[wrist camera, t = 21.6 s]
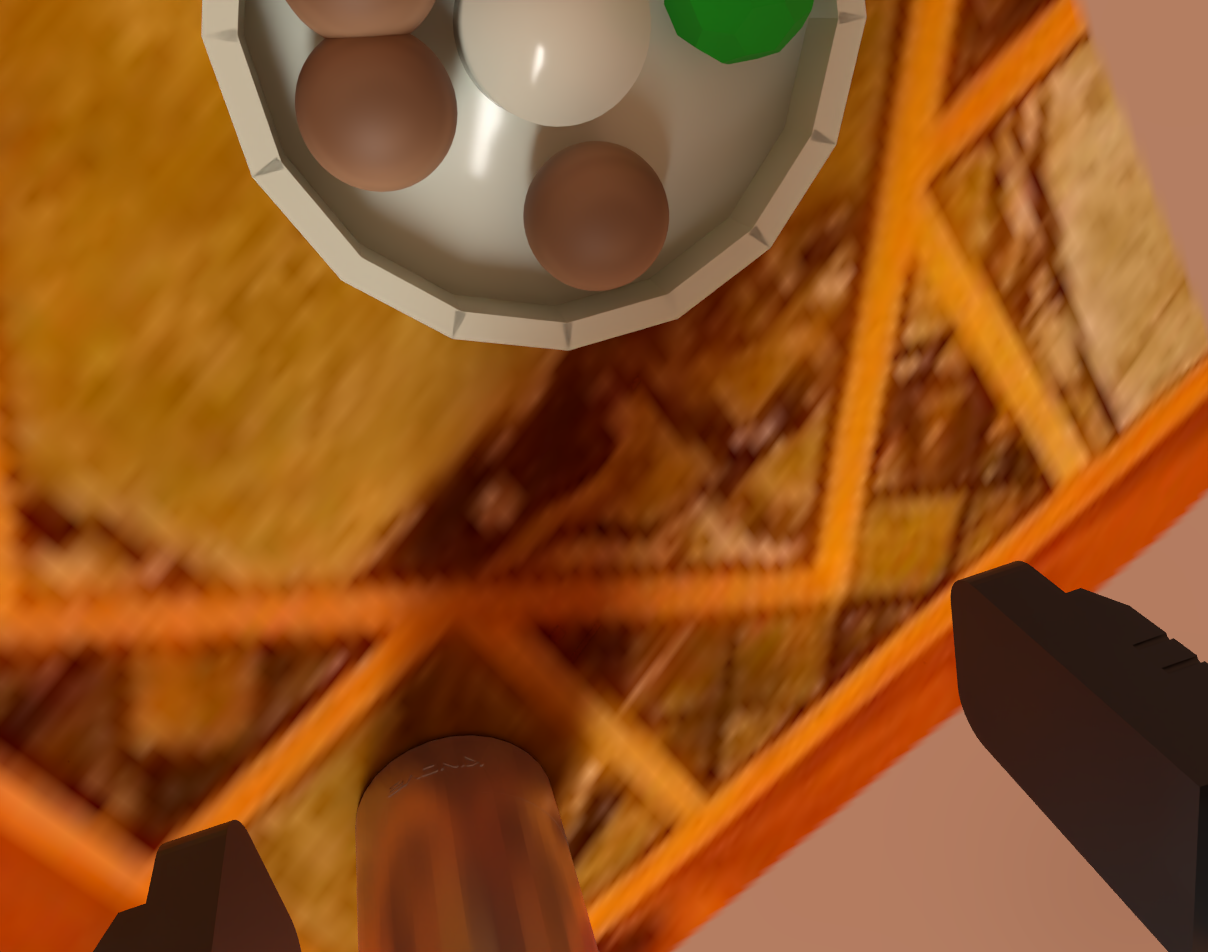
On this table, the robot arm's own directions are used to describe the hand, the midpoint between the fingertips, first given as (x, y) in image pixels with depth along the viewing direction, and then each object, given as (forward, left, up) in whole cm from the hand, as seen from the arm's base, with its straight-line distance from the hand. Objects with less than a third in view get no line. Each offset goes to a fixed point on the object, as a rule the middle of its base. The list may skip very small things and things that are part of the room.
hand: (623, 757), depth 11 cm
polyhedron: (+6, -12, -29) cm, 32 cm away
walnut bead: (0, -6, -29) cm, 30 cm away
